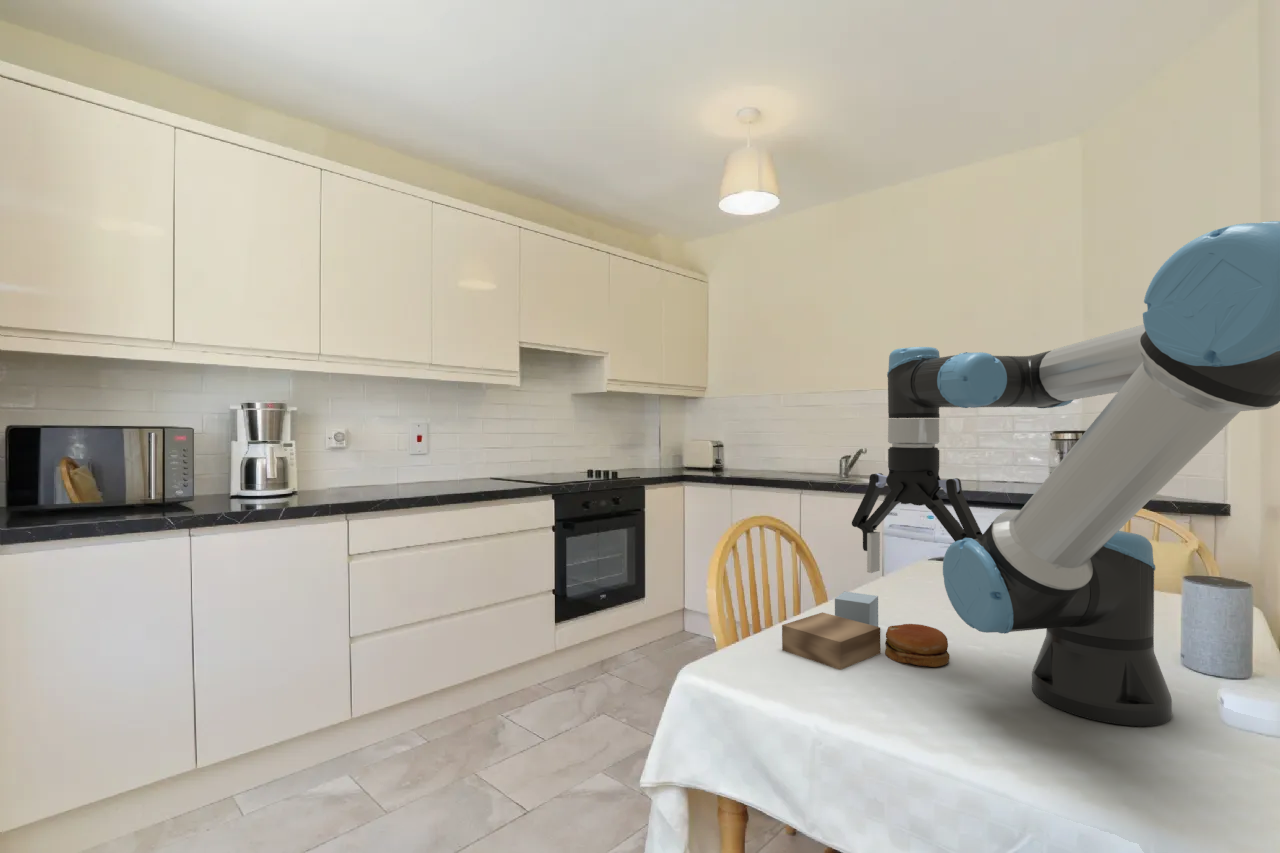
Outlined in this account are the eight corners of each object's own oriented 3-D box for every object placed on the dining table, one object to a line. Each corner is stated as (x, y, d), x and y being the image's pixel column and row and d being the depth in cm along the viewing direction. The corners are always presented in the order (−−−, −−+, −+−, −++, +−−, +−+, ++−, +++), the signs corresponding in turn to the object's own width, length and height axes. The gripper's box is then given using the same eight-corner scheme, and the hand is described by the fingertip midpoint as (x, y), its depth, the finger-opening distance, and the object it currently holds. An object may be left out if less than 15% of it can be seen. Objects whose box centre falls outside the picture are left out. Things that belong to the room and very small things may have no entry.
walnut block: (880, 655, 104) (880, 627, 104) (840, 672, 97) (840, 642, 97) (822, 638, 112) (822, 612, 112) (782, 652, 106) (782, 624, 106)
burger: (958, 670, 97) (958, 639, 97) (894, 668, 98) (893, 637, 98) (936, 648, 107) (936, 619, 107) (878, 646, 108) (878, 618, 108)
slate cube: (878, 629, 116) (878, 595, 116) (869, 638, 111) (869, 603, 111) (844, 623, 120) (844, 591, 120) (834, 632, 115) (834, 598, 115)
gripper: (1007, 447, 95) (1007, 590, 96) (854, 443, 114) (854, 562, 114) (987, 449, 91) (987, 599, 91) (831, 444, 109) (831, 569, 110)
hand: (913, 579), depth 103 cm, fingers open, 13 cm apart
